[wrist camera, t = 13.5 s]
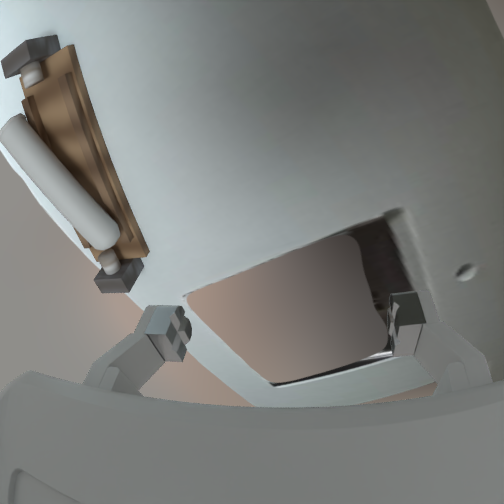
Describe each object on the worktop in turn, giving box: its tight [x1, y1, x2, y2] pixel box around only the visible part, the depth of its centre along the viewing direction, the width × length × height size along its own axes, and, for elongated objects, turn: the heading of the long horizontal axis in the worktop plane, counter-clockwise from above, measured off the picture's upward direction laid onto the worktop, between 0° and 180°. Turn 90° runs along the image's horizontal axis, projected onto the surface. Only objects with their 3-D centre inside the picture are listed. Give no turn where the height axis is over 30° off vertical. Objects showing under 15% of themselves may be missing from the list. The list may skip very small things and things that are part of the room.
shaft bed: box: [1, 35, 150, 293], centre depth 39 cm, size 41×11×6 cm, turn 12°
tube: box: [0, 113, 120, 250], centre depth 38 cm, size 5×5×25 cm
